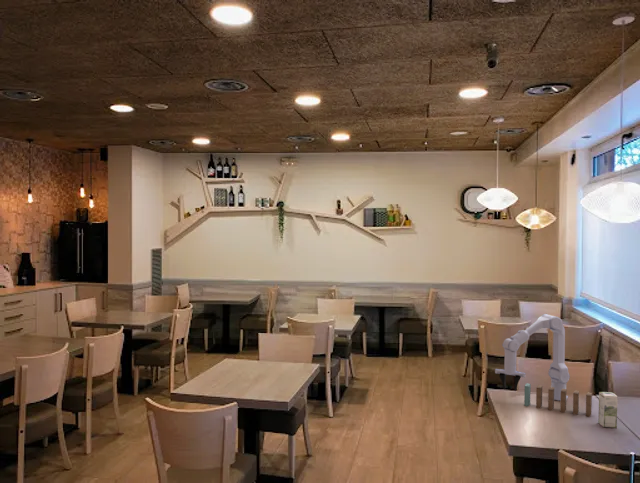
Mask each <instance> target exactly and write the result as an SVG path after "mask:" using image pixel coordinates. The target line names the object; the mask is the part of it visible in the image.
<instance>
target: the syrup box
mask: <svg viewBox="0 0 640 483" xmlns="http://www.w3.org/2000/svg"><path fill="white" fill-rule="evenodd" d="M618 402H619V401H618V395H616V394H615V393H613V392H609V391H608V392H607V391H599V392H598V420H597V421H598V422H597V423H598V424H599V425H600V426H602V427H603V428H611V429H612V428H615V429H616V428H617V426H618V425H617V424H618V423H617V422H618Z"/></svg>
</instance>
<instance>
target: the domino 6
mask: <svg viewBox="0 0 640 483" xmlns="http://www.w3.org/2000/svg"><path fill="white" fill-rule="evenodd" d="M592 396H593V392H586V394H585V417H588V418H591V416H592V401H593V400H592Z"/></svg>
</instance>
